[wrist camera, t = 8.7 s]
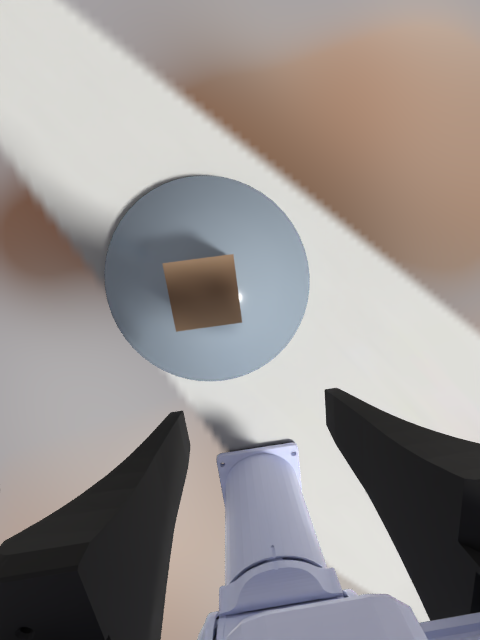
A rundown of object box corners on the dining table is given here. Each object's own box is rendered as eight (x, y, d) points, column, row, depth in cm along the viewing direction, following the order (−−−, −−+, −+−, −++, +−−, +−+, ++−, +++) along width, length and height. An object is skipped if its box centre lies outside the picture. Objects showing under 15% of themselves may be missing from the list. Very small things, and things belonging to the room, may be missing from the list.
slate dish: (311, 362, 21) (314, 367, 20) (136, 387, 21) (131, 393, 20) (298, 168, 18) (302, 162, 17) (86, 194, 17) (78, 190, 16)
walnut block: (238, 308, 19) (242, 322, 14) (188, 314, 19) (175, 331, 14) (231, 257, 18) (233, 254, 13) (179, 264, 18) (162, 263, 13)
